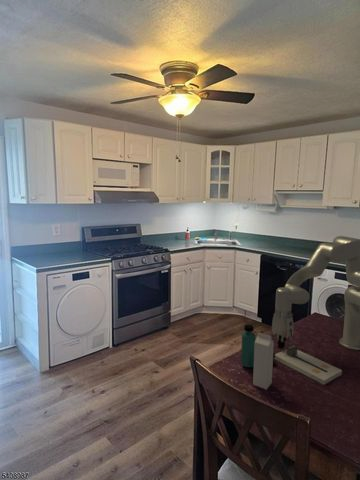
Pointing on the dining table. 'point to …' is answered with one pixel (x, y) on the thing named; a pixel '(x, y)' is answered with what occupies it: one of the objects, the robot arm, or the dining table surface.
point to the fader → (291, 350)
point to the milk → (263, 361)
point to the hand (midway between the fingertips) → (281, 347)
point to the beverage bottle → (248, 346)
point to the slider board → (309, 366)
